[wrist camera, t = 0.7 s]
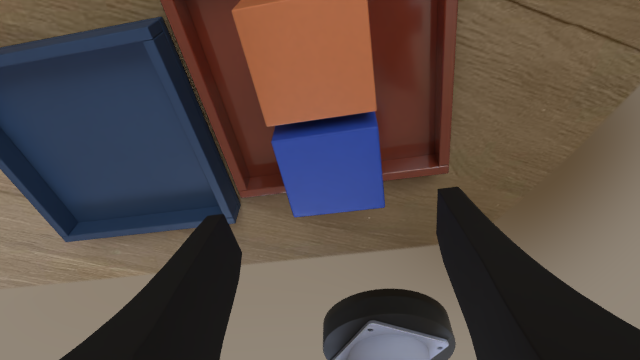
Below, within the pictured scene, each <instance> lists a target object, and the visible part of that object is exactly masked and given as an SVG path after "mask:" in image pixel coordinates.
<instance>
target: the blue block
mask: <svg viewBox="0 0 640 360" xmlns="http://www.w3.org/2000/svg"><path fill="white" fill-rule="evenodd" d="M271 143H272V147H273V150H274V153H275V156H276V160H277V163H278V166H279V170H280V173H281V176H282V180H283V183H284V186H285V189H286V193H287V196H288V199H289V203H290V206H291V209H292V212H293V216H294V217H303V216H312V215H321V214H330V213H339V212H348V211H358V210H367V209H376V208H384V207H385V199H384V188H383V176H382V164H381V153H380V141H379V130H378V124H377V119H376V114H375V111H373V112H366V113H360V114H353V115H346V116H339V117H332V118H325V119H318V120H311V121H304V122H298V123H291V124H284V125H277V126H275V129H274V133H273V137H272V141H271Z"/></svg>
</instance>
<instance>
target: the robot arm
mask: <svg viewBox="0 0 640 360" xmlns="http://www.w3.org/2000/svg"><path fill="white" fill-rule="evenodd" d="M436 234H437V238H438V242H439V246H440V250H441V255H442V258H443V262H444V265H445V268H446V270H447V273H448V276H449V278H450V281H451V283H452V286H453V289H454V292H455V294H456V297H457V299H458V302H459V305H460V307H461V310H462V313H463V315H464V318H465V321H466V323H467V326H468V329H469V332H470V335H471V338H472V342H473V346H474V350H475V353H476V357H477V360H640V330H639V329H638V328H636V327H634V326H632V325H631V324H629V323H627V322H625V321H623V320H622V319H620V318H618V317H617V316H615V315H613V314H612V313H610V312H609V311H607V310H605V309H604V308H602V307H601V306H599V305H598V304H596V303H594V302H593V301H591V300H590V299H588V298H586V297H585V296H583V295H582V294H580V293H578V292H577V291H576V290H574V289H573V288H571V287H570V286H569V285H567V284H566V283H564V282H563V281H561V280H560V279H559V278H557V277H556V276H555V275H553V274H552V273H551V272H549V271H548V270H547V269H545V268H544V267H543V266H541V265H540V264H539V263H538V262H536V261H535V260H534V259H533V258H531V257H530V256H529V255H528V254H526V253H525V252H524V251H523V250H522V249H521V248H520V247H518V246H517V245H516V244H515V243H514V242H512V241H511V240H510V239H509V238H508V237H507V236H506V235H505V234H504V233H503V232H502V231H500V229H499V228H498V227H497V226H495V225H494V224H493V223H492V222H491V221H490V220H489V219H488V218H487V217H486V216H485V215H484V214H483V213H482V212H481V211H480V210H479V209H478V207H477V206H476V205H475V204H474V203H473V202H472V201H471V200H470V199H469V198H468V197H467V196H466V194H465V193H464V192H463V191H462V190H461V189H460V188H459V187H452V188H443V189H438V201H437V230H436ZM241 258H242V252H241V249H240V247H239V245H238V243H237V241H236V239H235V237H234V234H233V232H232V230H231V228H230V226H229V224H228V222H227V220H226V217H225V215H224V214H218V215H209V216H207V217H206V218H205V219H204V220H203V221H202V222H201V223H200V224H199V226H198V227H197V228H196V229H195V230H194V232H193V233H192V234H191V235H190V236H189V238H188V239H187V240H186V241H185V242H184V244H183V245H182V246H181V247H180V248H179V249H178V251H177V252H176V253H175V254H174V255H173V256H172V258H171V259H170V260H169V261H168V262H167V263H166V264H165V265H164V267H163V268H162V269H161V270H160V271H159V272H158V273H157V274H156V275H155V276H154V277H153V278H152V279H151V280H150V282H149V283H148V284H147V285H146V286H145V287H144V288H143V289H142V290H141V291H140V292H139V293H138V294H137V295H136V296H135V297H134V298H133V299H132V300H131V301H130V302H129V303H128V304H126V305H125V306H124V307H123V309H121V310H120V311H119V312H118V313H117V314H116V315H114V316H113V317H112V318H111V319H110V320H109V321H108V322H106V323H105V324H104V325H103V326H101V327H100V328H99V329H98V330H97V331H95V332H94V333H93V334H92V335H91V336H89V337H88V338H87V339H86V340H85V341H83V342H82V343H81V344H79V345H78V346H77V347H76V348H75V349H73V350H72V351H71V352H69V353H68V354H66V355H65V356H64V357H62V358H61V359H60V360H219V359H220V353H221V349H222V344H223V340H224V336H225V332H226V328H227V324H228V321H229V316H230V313H231V309H232V305H233V301H234V297H235V293H236V289H237V285H238V281H239V275H240V267H241ZM448 345H449V343H448V340H446V339H443V338H440V337H436V336H432V335H428V334H424V333H421V332H417V331H413V330H409V329H406V328H402V327H398V326H394V325H390V324H387V323H383V322H379V321H375V320H370V321H368V322H367V323H366V324H365V325H364V326H363V327H362V328H361V329H360V331H359V332H358V333H357V334H356V335H355V336H354V337H353V338H352V339H351V340H350V341H349V342H348V343H347V344H346V345H345V346H344V347H343V348H342V349H341V350H340V351H339V353H338V354H337V355H336V356H335V357H334V358H333V359H332V360H430V359H432V358H433V357H434V356H436V355H437V354H438V353H440V352H441V351H442V350H444V349H445V348H446V347H448Z"/></svg>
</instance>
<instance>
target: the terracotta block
mask: <svg viewBox="0 0 640 360" xmlns="http://www.w3.org/2000/svg"><path fill="white" fill-rule="evenodd" d="M232 15H233V18H234V22H235V25H236V28H237V32H238V35H239V38H240V41H241V45H242V48H243V51H244V55H245V58H246V61H247V64H248V68H249V71H250V74H251V78H252V81H253V84H254V87H255V91H256V94H257V97H258V101H259V104H260V107H261V110H262V114H263V117H264V120H265V124H266V126H267V127H270V126H277V125H284V124H291V123H298V122H304V121H311V120H318V119H325V118H332V117H339V116H346V115H353V114H360V113H366V112H373V111H376V110H377V104H376V93H375V81H374V70H373V58H372V46H371V35H370V23H369V11H368V0H240V1H239V3H238V4H237V5H236V6H235V7H234V8H233V9H232Z"/></svg>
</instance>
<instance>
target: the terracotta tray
mask: <svg viewBox="0 0 640 360" xmlns="http://www.w3.org/2000/svg"><path fill="white" fill-rule="evenodd" d="M160 1H161V3H162V6H163V8H164V11H165V13H166V16H167V18H168V20H169V23H170V25H171V28H172V30H173V33H174V35H175V38H176V40H177V42H178V45H179V47H180V50H181V52H182V55H183V57H184V60H185V62H186V64H187V67H188V69H189V72H190V74H191V77H192V79H193V81H194V84H195V86H196V89H197V91H198V94H199V96H200V99H201V101H202V103H203V106H204V108H205V111H206V113H207V116H208V118H209V121H210V123H211V125H212V128H213V130H214V133H215V135H216V138H217V140H218V142H219V145H220V147H221V150H222V152H223V155H224V157H225V160H226V162H227V164H228V167H229V169H230V172H231V174H232V177H233V179H234V182H235V184H236V186H237V189H238V191H239V194H240V196H241V198H246V197H254V196H262V195H271V194H279V193H286V189H285V186H284V183H283V180H282V176H281V173H280V170H279V166H278V163H277V160H276V156H275V153H274V150H273V147H272V143H271V141H272V137H273V133H274V129H275V126H270V127H267V126H266V124H265V120H264V117H263V114H262V110H261V107H260V104H259V101H258V97H257V94H256V91H255V87H254V84H253V81H252V78H251V74H250V71H249V68H248V64H247V61H246V58H245V55H244V51H243V48H242V45H241V41H240V38H239V35H238V32H237V28H236V25H235V22H234V18H233V15H232V9H233V8H234V7H235V6H236V5H237V4H238V3H239V1H240V0H160ZM368 11H369V23H370V35H371V46H372V58H373V70H374V81H375V93H376V104H377V110H376V111H375V114H376V119H377V124H378V130H379V141H380V153H381V164H382V176H383V181H387V180H396V179H404V178H412V177H421V176H429V175H437V174H446V173H448V172H449V156H450V138H451V120H452V102H453V84H454V65H455V47H456V29H457V11H458V0H368Z"/></svg>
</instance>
